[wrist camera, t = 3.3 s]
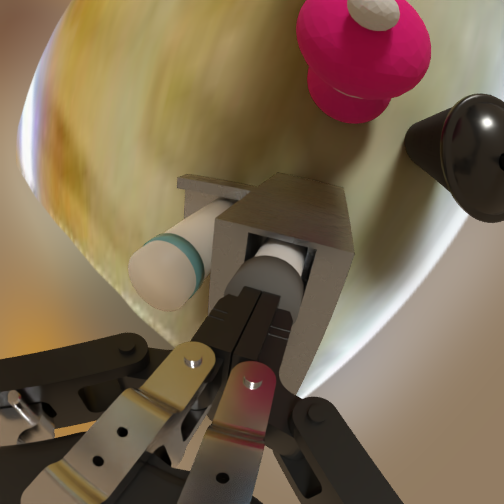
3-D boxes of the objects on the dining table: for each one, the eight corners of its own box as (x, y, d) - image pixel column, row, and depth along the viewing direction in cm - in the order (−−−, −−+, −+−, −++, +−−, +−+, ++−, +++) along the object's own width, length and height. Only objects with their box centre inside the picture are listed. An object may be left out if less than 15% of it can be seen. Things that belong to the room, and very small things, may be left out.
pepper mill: (381, 63, 19) (454, -42, 2) (382, 129, 22) (488, 127, 5) (310, 56, 21) (256, -68, 4) (310, 122, 24) (258, 92, 7)
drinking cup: (386, 107, 21) (493, 63, 4) (451, 110, 19) (593, 107, 1) (394, 181, 24) (494, 282, 7) (457, 181, 21) (586, 267, 4)
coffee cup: (208, 191, 29) (124, 239, 17) (252, 201, 28) (188, 258, 16) (204, 234, 32) (131, 298, 20) (246, 245, 31) (188, 321, 19)
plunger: (266, 214, 16) (227, 262, 11) (318, 227, 16) (307, 284, 10) (258, 260, 18) (220, 322, 12) (306, 273, 17) (288, 343, 11)
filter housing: (192, 157, 29) (83, 190, 15) (343, 187, 26) (354, 253, 12) (186, 250, 35) (105, 323, 21) (316, 285, 32) (294, 396, 18)
